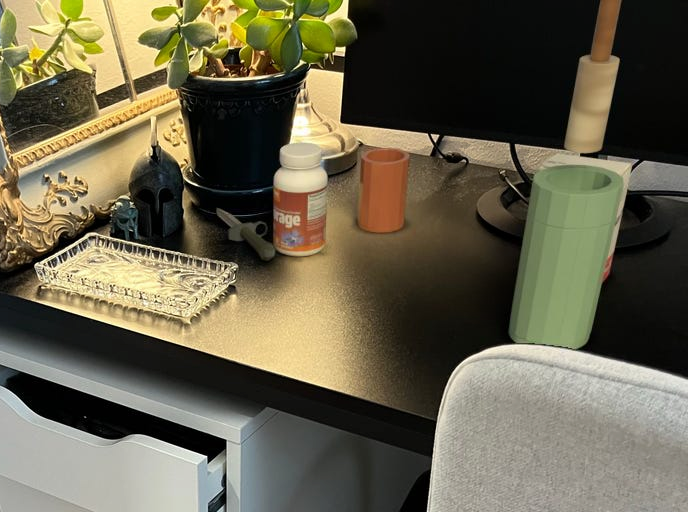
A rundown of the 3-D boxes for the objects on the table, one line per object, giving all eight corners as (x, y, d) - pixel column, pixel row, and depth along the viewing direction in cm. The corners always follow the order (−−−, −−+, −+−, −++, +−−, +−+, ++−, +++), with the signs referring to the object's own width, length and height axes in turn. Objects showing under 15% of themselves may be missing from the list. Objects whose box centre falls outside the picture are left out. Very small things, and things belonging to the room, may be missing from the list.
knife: (201, 202, 128) (238, 196, 129) (202, 218, 130) (238, 212, 131) (253, 248, 115) (294, 241, 116) (254, 266, 116) (294, 259, 117)
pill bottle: (262, 247, 120) (261, 149, 113) (300, 233, 123) (302, 136, 115) (297, 262, 116) (298, 162, 109) (336, 247, 119) (339, 148, 111)
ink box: (611, 274, 110) (637, 161, 102) (596, 291, 108) (621, 176, 100) (535, 259, 114) (554, 149, 106) (518, 275, 111) (537, 163, 103)
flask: (587, 319, 103) (621, 165, 93) (589, 355, 97) (626, 196, 87) (509, 314, 105) (534, 163, 94) (507, 349, 99) (533, 192, 89)
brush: (601, 142, 90) (661, -156, 76) (602, 153, 88) (664, -151, 73) (563, 141, 91) (616, -154, 76) (564, 152, 88) (618, -149, 74)
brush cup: (406, 216, 126) (411, 148, 120) (401, 233, 122) (406, 164, 116) (361, 214, 127) (364, 147, 121) (355, 231, 123) (358, 163, 117)
